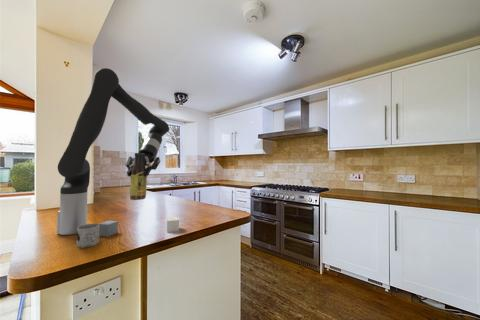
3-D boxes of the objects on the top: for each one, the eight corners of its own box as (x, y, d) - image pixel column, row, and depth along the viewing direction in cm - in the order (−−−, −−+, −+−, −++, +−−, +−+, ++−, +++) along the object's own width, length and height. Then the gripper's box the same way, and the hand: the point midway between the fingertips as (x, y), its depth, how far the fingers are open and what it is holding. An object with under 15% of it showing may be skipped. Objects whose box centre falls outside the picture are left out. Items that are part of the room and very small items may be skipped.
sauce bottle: (139, 200, 80) (140, 152, 80) (126, 200, 81) (127, 152, 82) (149, 198, 86) (150, 153, 87) (137, 197, 88) (138, 153, 88)
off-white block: (166, 232, 86) (167, 221, 86) (166, 228, 91) (166, 218, 91) (178, 231, 88) (178, 219, 88) (177, 227, 93) (178, 217, 93)
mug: (80, 242, 75) (80, 224, 75) (101, 239, 78) (101, 222, 78) (70, 253, 66) (70, 233, 66) (94, 249, 69) (94, 230, 69)
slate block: (97, 235, 82) (98, 223, 82) (108, 231, 87) (108, 220, 87) (107, 236, 81) (107, 224, 81) (117, 232, 86) (117, 221, 86)
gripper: (131, 143, 92) (115, 169, 80) (162, 143, 92) (151, 169, 80) (137, 155, 97) (122, 180, 85) (166, 155, 97) (156, 181, 85)
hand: (136, 175), depth 82 cm, fingers closed on sauce bottle, 6 cm apart
